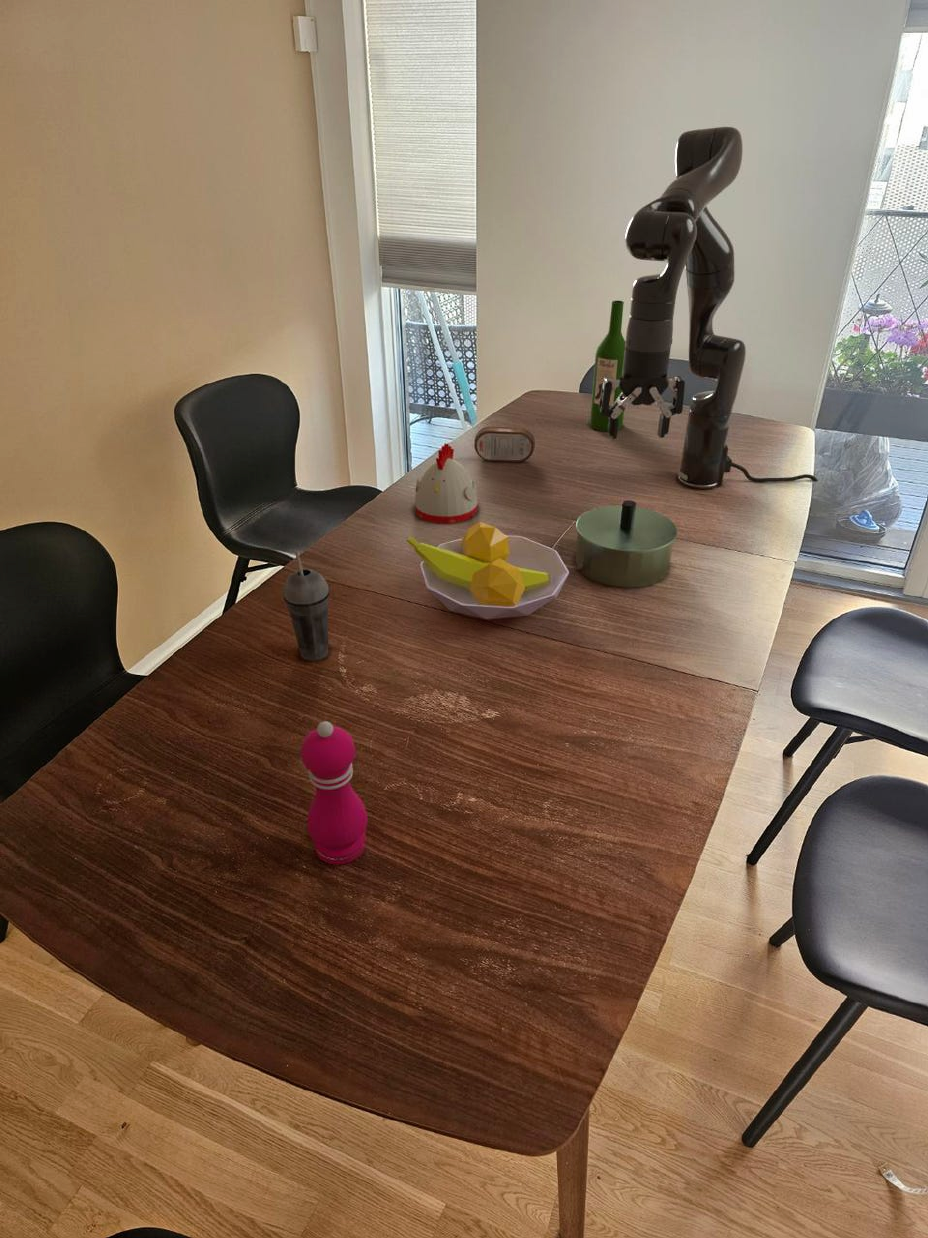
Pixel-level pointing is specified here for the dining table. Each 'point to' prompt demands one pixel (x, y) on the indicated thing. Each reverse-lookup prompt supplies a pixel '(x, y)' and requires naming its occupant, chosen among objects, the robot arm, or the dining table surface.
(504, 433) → the tin
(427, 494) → the kitchen timer
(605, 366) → the wine bottle
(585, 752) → the dining table surface
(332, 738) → the pepper mill
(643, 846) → the dining table surface
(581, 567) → the green open cylinder
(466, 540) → the fruit bowl
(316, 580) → the beverage cup
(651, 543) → the lid
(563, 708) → the dining table surface
